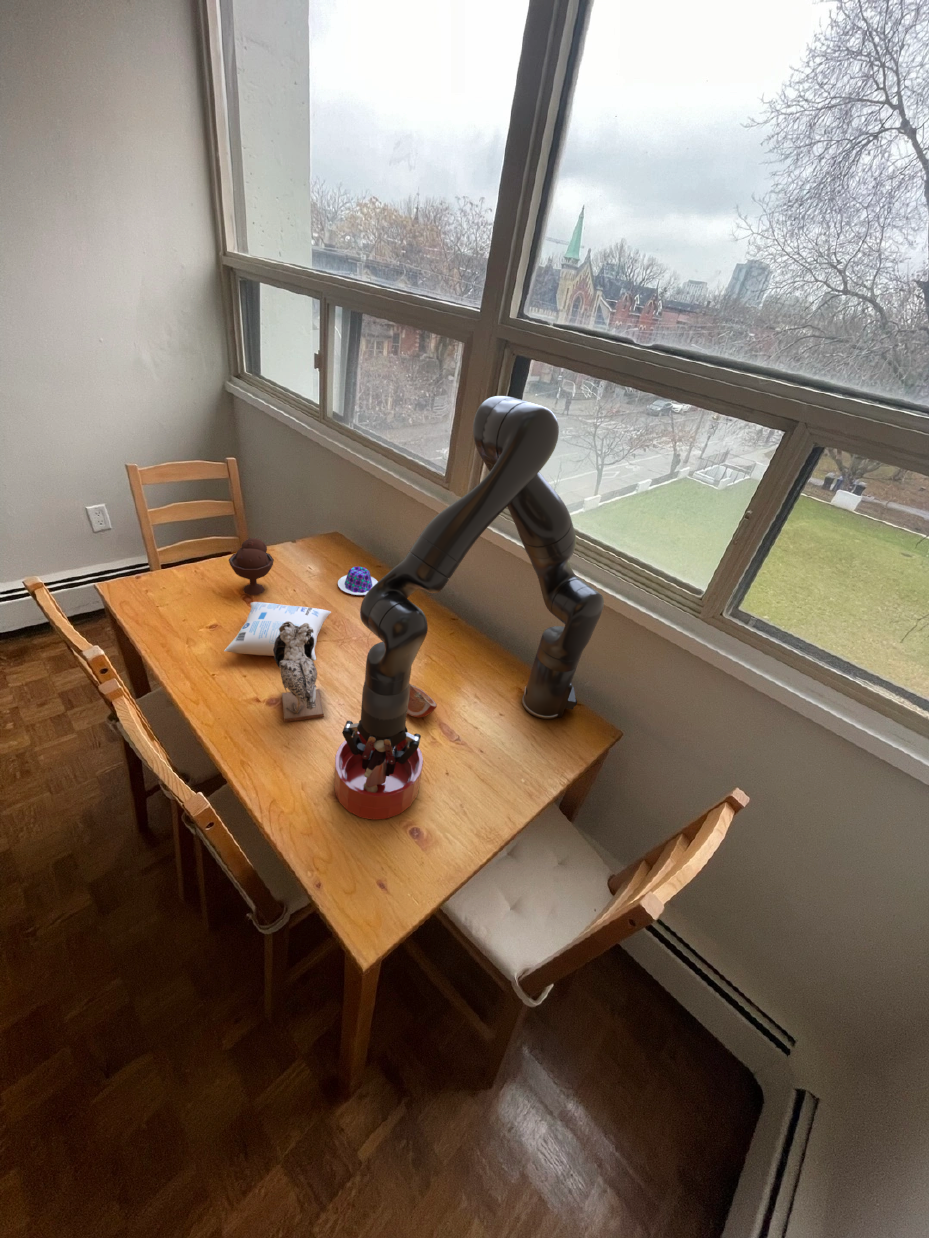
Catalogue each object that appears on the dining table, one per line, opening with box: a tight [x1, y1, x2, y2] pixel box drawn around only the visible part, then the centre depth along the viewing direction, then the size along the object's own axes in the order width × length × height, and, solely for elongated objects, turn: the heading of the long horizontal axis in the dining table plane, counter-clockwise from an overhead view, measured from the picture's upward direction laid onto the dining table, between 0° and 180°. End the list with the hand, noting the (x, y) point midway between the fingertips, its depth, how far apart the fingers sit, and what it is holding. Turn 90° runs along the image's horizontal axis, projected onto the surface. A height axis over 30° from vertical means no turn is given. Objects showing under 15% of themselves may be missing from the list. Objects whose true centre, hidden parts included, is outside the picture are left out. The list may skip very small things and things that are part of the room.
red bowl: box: [334, 732, 424, 821], centre depth 92 cm, size 15×15×7 cm
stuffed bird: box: [273, 621, 325, 723], centre depth 103 cm, size 10×20×17 cm, turn 39°
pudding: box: [337, 566, 379, 596], centre depth 148 cm, size 12×12×5 cm
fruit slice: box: [407, 683, 438, 718], centre depth 110 cm, size 8×7×5 cm
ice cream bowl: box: [228, 537, 275, 596], centre depth 136 cm, size 11×11×15 cm
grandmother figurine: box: [364, 740, 386, 793], centre depth 90 cm, size 8×4×13 cm, turn 171°
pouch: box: [223, 601, 332, 661], centre depth 121 cm, size 8×19×20 cm
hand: (378, 770), depth 92 cm, fingers open, 3 cm apart
